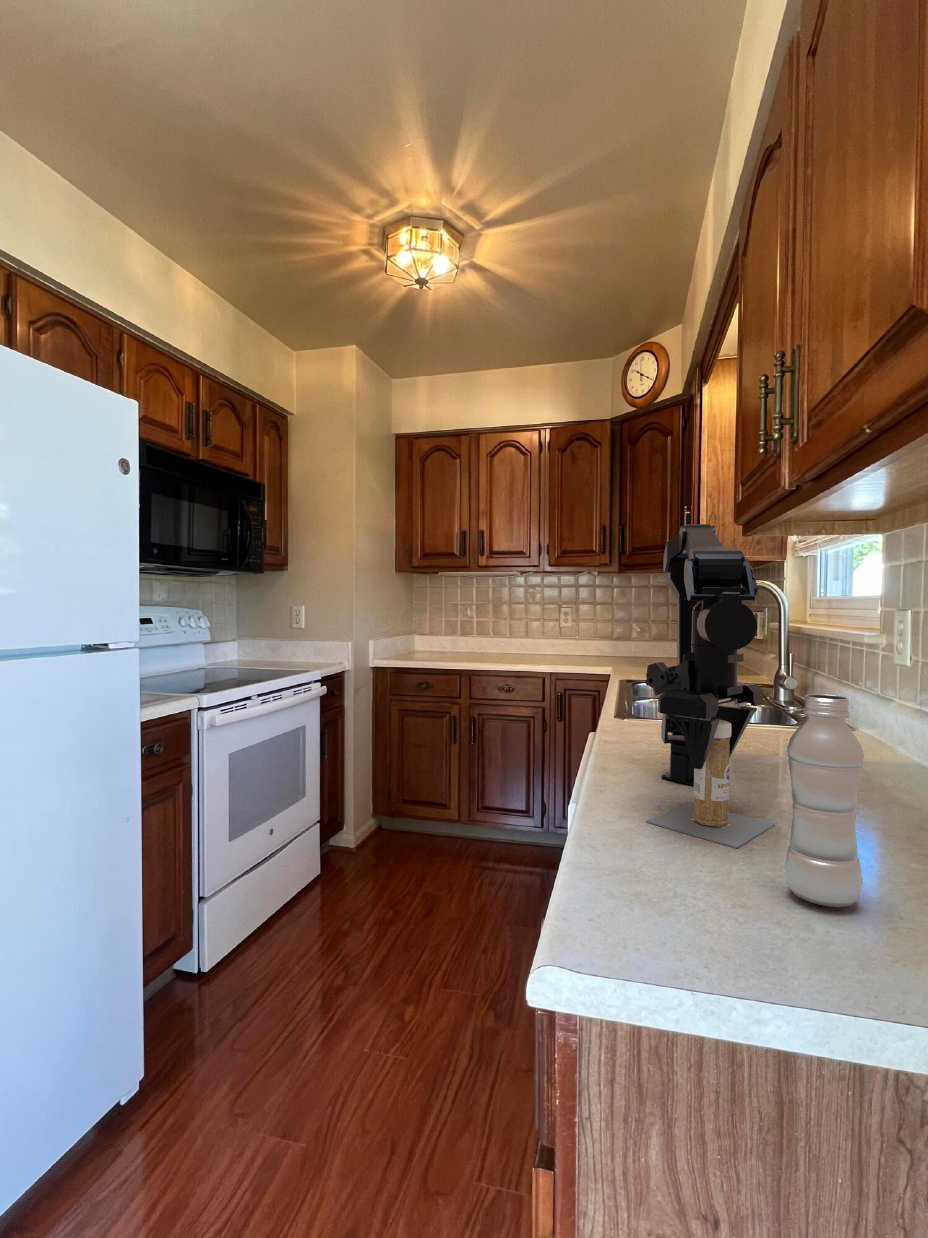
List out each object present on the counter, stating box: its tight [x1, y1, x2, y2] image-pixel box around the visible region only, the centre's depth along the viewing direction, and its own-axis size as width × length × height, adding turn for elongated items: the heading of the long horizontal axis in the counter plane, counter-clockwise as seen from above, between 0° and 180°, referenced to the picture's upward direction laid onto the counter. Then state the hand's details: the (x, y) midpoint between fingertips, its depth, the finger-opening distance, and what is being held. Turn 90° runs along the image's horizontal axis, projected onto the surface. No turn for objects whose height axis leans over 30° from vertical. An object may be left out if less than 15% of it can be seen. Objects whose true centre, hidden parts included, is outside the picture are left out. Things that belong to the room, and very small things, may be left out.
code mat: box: [645, 801, 776, 850], centre depth 82 cm, size 12×12×1 cm
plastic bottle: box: [784, 693, 865, 908], centre depth 60 cm, size 6×7×20 cm
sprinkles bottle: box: [693, 720, 731, 827], centre depth 82 cm, size 5×5×13 cm
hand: (711, 763), depth 82 cm, fingers open, 8 cm apart
